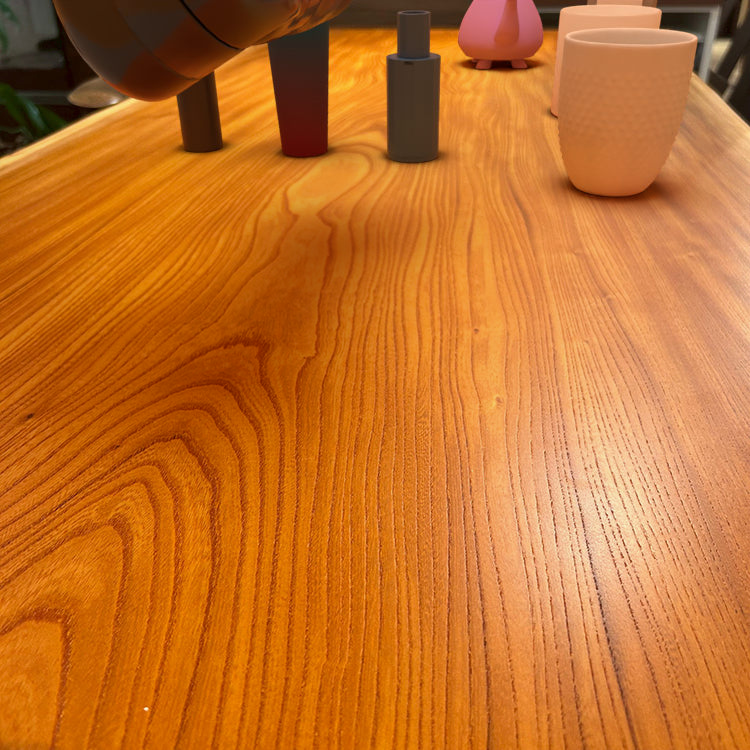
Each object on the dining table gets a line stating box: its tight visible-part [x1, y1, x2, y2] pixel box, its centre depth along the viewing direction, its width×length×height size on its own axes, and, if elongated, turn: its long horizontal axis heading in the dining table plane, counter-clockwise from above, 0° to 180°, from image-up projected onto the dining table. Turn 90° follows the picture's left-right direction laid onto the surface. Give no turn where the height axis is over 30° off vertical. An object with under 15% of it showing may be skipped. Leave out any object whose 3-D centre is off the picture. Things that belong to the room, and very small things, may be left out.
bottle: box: [385, 10, 442, 163], centre depth 79 cm, size 5×5×14 cm
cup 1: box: [266, 19, 330, 158], centre depth 82 cm, size 7×7×15 cm
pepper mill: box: [175, 70, 224, 153], centre depth 85 cm, size 4×4×10 cm
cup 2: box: [550, 4, 663, 118], centre depth 96 cm, size 12×12×12 cm
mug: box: [557, 28, 699, 197], centre depth 71 cm, size 15×11×13 cm
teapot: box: [457, 0, 544, 70], centre depth 128 cm, size 20×14×12 cm
